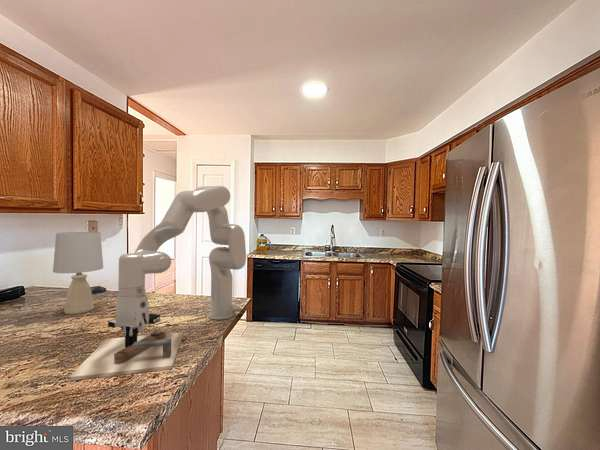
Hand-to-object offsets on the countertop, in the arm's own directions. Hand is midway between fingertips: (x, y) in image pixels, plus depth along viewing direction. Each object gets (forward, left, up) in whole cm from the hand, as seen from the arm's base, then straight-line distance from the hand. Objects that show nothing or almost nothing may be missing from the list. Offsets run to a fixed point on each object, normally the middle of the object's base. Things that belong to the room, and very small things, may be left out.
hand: (131, 346), depth 92 cm
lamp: (+36, -51, -2) cm, 63 cm away
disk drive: (+46, -85, -3) cm, 97 cm away
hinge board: (-2, +1, -2) cm, 3 cm away
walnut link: (-3, +1, -1) cm, 3 cm away
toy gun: (+6, -28, -3) cm, 29 cm away
